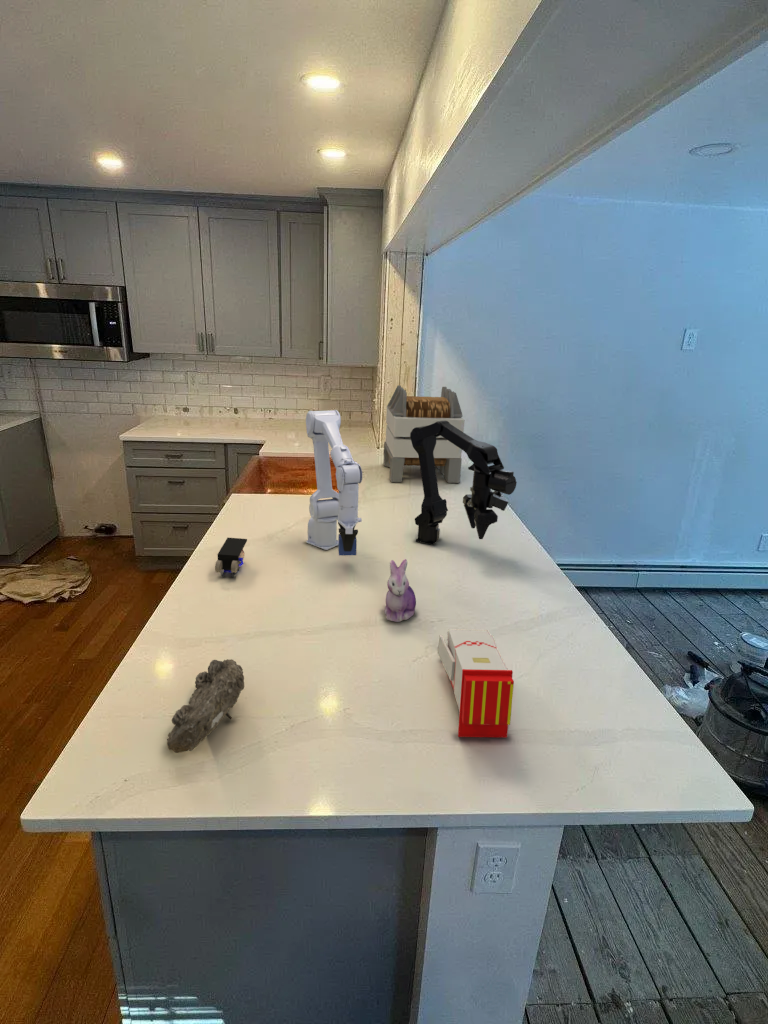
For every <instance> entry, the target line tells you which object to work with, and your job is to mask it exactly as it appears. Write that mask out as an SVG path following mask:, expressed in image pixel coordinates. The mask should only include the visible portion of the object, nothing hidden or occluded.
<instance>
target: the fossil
mask: <svg viewBox="0 0 768 1024" xmlns="http://www.w3.org/2000/svg"><path fill="white" fill-rule="evenodd" d="M243 670H244V669H243V667H242V665H240V664H237V662H236V661H235V660H234V659H232V658H231V659H227V658H226V659H224V660H223V661H222V660H217V659H212V660H211V661H210V663H209V665H208V666H207V671H201V672H199V673H198V674H197V675H196V676H195V680H194V684H195V685H194V687H195V689H194V690H193V693H192V694H191V697H190V698H189V700H188V704H184V705H182V706H181V707H180V709H177V710H176V711H175V713H174V715H173V716H172V718H171V723H172V724H173V727H172V730H171V731H170V732H168V734H167V738H166V741H167V742H166V745H167V749H168V750H169V751H173V752H174V753H176V754H178V753H182V752H188V751H189V752H192V751H193V750H195V748H196V747H197V746H199V744H200V743H201V742H203V741H204V740H205V739H206V738H207V737H208V736H209V735H210V734H211V733H212V732H214V730H215V729H217V727H218V726H219V724H220V722H221V721H222V720H223V719H224V718H225V716H226V717H227V719H229V720H233V717H232V715H230V714H229V710H230V709H231V708H234V706H235V704H236V703H237V702H238V699H239V697H240V695H241V693H242V691H243V690H245V689H244V688H245V675H244V671H243Z"/></svg>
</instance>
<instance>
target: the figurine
mask: <svg viewBox="0 0 768 1024" xmlns="http://www.w3.org/2000/svg"><path fill="white" fill-rule="evenodd" d="M407 567H408V559H406V558H404V559H403V560H402V561H401V563H400V565H399V566H398V565H397V563H396V562H395V561H394V560H393V559H391V560H390V561H389V570H390V576H389V578H388V579H387V589H388V591H387V592H386V594H385V595H386V596H385V607H384V615H385V616H386V620H387V621H391V622H395V623H400V622H402V621H406V620H409V619H410V618H411V617H413V616H414V615H415V610H416V606H417V597H416V593H415V591H414V590H413V587H411V586H410V582H409V579H408V577H407V574H406V571H407Z"/></svg>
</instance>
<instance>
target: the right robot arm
mask: <svg viewBox="0 0 768 1024" xmlns="http://www.w3.org/2000/svg"><path fill="white" fill-rule="evenodd" d="M438 436H442V437H444V438H445V439H447V440H448V441H450V442H451V443H453V444H454V445H456V446H457V447H459V448H460V449H462V452H464V453H465V454H466V455H467V458H468V460H470V461H471V462H472V464H471V465H469V466H468V467H467V470H468V471H472V472H473V478H472V486H471V487H469V490H470V492H471V494H465V495H464V496H463V497H462V504H463V507H464V511H465V514H466V516H467V519H468V522H469V525H470V528H471V529H476V533H477V536H478V539H479V540H483V539H484V536H485V535H486V532H487V530H488V528H489V526H491V525H492V524H495V523H498V519H499V516H498V514H497V513H496V512H495V510H493V508H496V509H499V510H500V511H502V512H504V511H505V510H506V509H507V506H508V504H509V500H507V498H506V497H504V496H502V494H505V495H507V496H508V495H512V494H513V493H514V492H515V490H516V488H517V483H518V482H517V479H516V476H515V475H514V474H515V472H514V471H512V470H506V469H505V466H504V464H503V462H502V460H501V457H500V455H499V453H498V449H497V446H495V445H492V444H491V443H487V442H486V441H480V440H477V439H475V438H473V437H472V436H470V435H468V434H467V433H465V432H462V431H460V430H459V429H457V428H456V427H454V426H453V425H451V424H450V423H449V422H448V421H446V420H444V421H438V422H435V423H433V424H431V425H428V426H422V427H416V428H414V429H413V430H412V431H411V433H410V438H411V442H412V445H413V448H414V449H415V451H416V452H417V453H418V456H419V462H420V466H419V468H420V469H419V470H420V475H421V482H422V491H423V499H422V501H421V502H422V503H421V506H420V510H421V511H420V512H421V513H420V514H418V515H417V516H416V517H414V523H415V525H416V526H418V527H417V538H416V539H415V542H417V543H421V544H425V545H430V546H435V544H436V543H437V542H438V541H439V540H440V532H441V528H439V526H440V524H442V523H443V521H444V520H445V518H446V517H447V515H448V511H449V509H448V506H447V503H448V502H447V499H446V498H444V499H443V497H442V496H441V495H440V491H439V484H438V478H437V477H438V476H437V469H436V466H435V462H434V455H433V451H434V448H435V445H436V437H438Z"/></svg>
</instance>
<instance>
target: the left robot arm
mask: <svg viewBox="0 0 768 1024" xmlns="http://www.w3.org/2000/svg"><path fill="white" fill-rule="evenodd" d="M341 423H342V417H341V414H340V412H339V411H338V409H332V410H330V409H329V410H327V409H326V410H309V411H307V413H306V416H305V428H306V434H307V438H309V439H312V445H313V447H312V448H313V457H314V467H315V479H316V488H317V489H316V490H315V491H314V492H313V493H312V494H311V495H310V496H309V507H308V510H309V516H310V518H309V519H308V522H307V540H305V543H306V544H309V545H311V546H314V547H317V548H319V549H322V550H325V551H328V550H331V549H332V548H335V547H338V541H339V539H338V537H337V536H338V534H340V535H341V538H342V541H343V548H344V551H351V550H352V547H353V543H354V539H355V537H356V538H357V535H358V534H359V529H355V528H356V526H357V524H358V523H362V521H363V520H362V517H359V489H360V487H359V486H360V485H359V484H361V483H362V482H363V476H364V475H363V469H362V467H361V464H360V463H359V462H357V461H355V460H354V458H353V455H352V452H351V450H350V448H349V447H348V445H346V444H344V443H343V439H342V435H341V432H340V428H341ZM329 446H330V448H331V450H330V449H329ZM330 457H331V460H332V463H333V465H334V467H335V479H336V480H335V481H336V487H337V490H338V492H337V491H336V490H335V489H333V483H332V470H331V460H330ZM338 526H339V528H338ZM337 532H338V533H337Z"/></svg>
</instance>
